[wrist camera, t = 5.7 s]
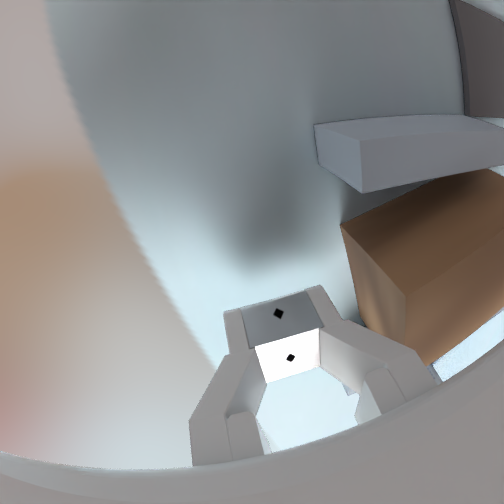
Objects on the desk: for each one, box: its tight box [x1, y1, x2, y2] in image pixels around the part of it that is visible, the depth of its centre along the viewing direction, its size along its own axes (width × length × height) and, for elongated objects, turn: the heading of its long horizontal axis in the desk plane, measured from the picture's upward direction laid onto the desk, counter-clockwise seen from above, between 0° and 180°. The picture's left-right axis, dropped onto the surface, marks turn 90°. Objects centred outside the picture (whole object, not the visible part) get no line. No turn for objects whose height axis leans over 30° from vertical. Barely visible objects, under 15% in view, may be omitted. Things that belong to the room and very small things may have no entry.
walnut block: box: [340, 168, 504, 366], centre depth 9 cm, size 5×7×4 cm
